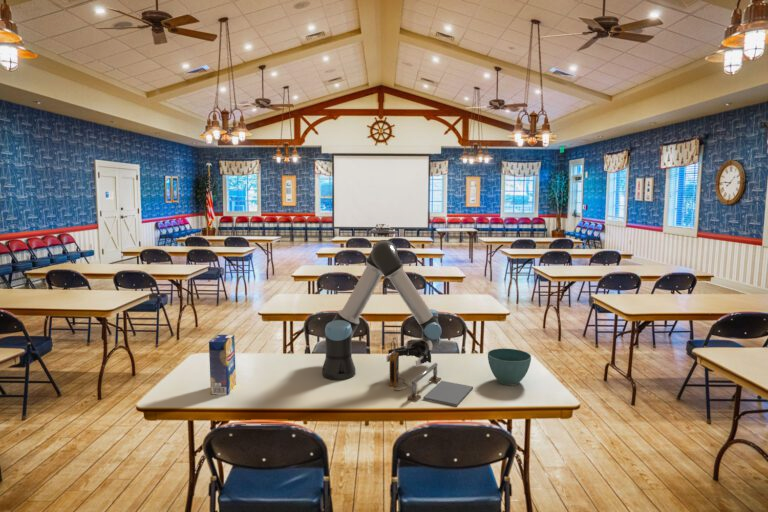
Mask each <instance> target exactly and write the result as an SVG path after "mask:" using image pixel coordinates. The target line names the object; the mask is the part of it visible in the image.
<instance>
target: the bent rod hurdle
mask: <svg viewBox="0 0 768 512" xmlns="http://www.w3.org/2000/svg"><path fill="white" fill-rule="evenodd" d="M430 372H432V373H433V375H432V376H431V377H430V378H429V379H428V381H431V382H430V383H435V384H439V383H440V382H441V381H442V377H438V363H437V362H435V363H433V364H431V366H429V367H428V368H427V369H426V370H424V371H423V372H422V373H421V374H419V375H418V376H416V377H415V378H414V379H413V380H412V381H411V386H412V387H411V388H412V389H411V390H412V392H411V393H410V395H409V396H407V400H408V401H412V402H418V401H419V400H420V399H421V398H422V395H420V394H417V383H418V382H420V381H421V380H422V379H423V378H424V377H426V376H427V375H428V374H429V373H430ZM440 380H441V381H440Z"/></svg>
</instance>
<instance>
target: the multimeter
mask: <svg viewBox="0 0 768 512" xmlns="http://www.w3.org/2000/svg"><path fill="white" fill-rule="evenodd" d="M392 343H393V344H392ZM390 344H391V345H390V350H391V356H390V361H389V387H392V389H393V390H394V391H395V392H400V391H403V390H406V389H407V388H408V387H411V388H412V385H411V384H408V383H404V382H405V381H406V380H405V379H404V378H400V377H399V374H400V372H399V371H400V370H399V369H400V367H399V362H400V359H399V358H400V356H399V353H397V352H396V353H395V348H397V346H396V341H395V337H393V338H392V341H391V343H390ZM392 345H393V346H392ZM392 347H393V348H392ZM392 349H394V351H393V353H392ZM399 380H402V381H403V384H404V385H406V387H402V388H401V389H395V388H396V387H397V385H398V383H399V382H400V381H399ZM407 386H408V387H407Z"/></svg>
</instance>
